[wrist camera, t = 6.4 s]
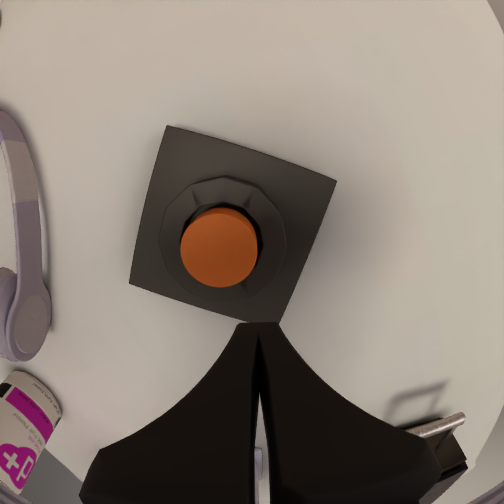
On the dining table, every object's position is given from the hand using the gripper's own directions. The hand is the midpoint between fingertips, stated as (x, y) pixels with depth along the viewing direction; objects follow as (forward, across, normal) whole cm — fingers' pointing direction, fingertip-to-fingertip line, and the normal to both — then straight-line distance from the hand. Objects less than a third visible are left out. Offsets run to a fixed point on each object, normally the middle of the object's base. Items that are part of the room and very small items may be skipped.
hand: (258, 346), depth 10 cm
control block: (+9, +2, -2) cm, 10 cm away
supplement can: (+10, +27, +17) cm, 33 cm away
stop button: (+6, +2, -2) cm, 7 cm away
